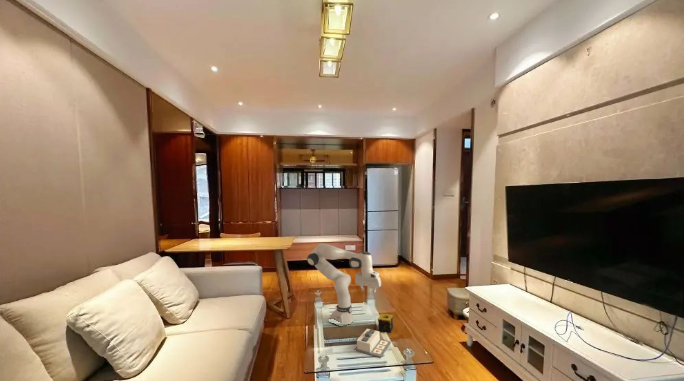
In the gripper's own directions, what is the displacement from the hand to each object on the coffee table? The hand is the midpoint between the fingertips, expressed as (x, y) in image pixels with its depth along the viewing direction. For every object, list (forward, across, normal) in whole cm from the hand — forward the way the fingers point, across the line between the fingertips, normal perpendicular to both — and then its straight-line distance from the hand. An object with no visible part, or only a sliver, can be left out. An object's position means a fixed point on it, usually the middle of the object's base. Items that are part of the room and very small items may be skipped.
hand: (368, 291), depth 196 cm
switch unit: (+34, +6, -12) cm, 36 cm away
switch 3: (+33, +3, -6) cm, 33 cm away
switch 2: (+31, +3, -11) cm, 33 cm away
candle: (+34, +6, +14) cm, 38 cm away
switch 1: (+32, +3, -17) cm, 37 cm away
